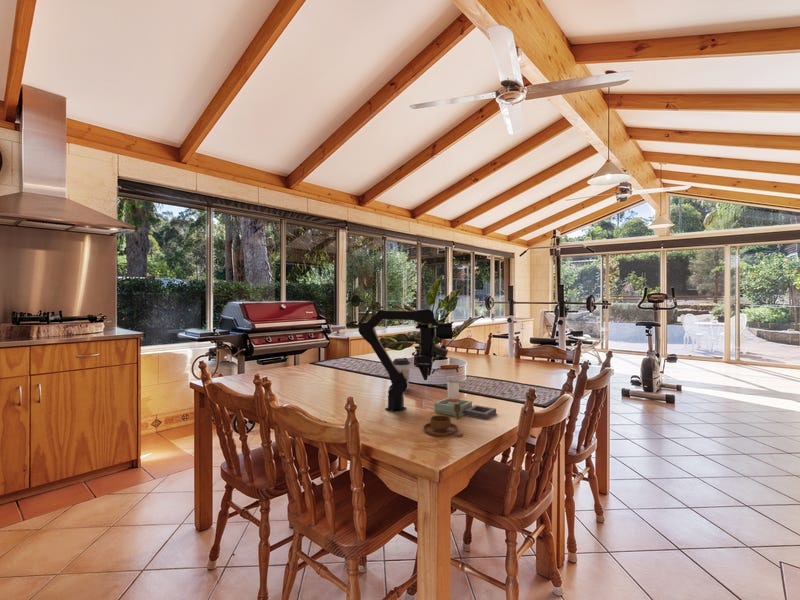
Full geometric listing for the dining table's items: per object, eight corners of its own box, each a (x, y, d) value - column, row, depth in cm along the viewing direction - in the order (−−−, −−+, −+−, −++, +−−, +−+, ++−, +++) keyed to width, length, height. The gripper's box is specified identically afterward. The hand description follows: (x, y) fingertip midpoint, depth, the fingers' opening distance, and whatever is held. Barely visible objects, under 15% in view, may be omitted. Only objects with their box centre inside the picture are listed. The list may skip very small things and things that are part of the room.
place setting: (412, 427, 144) (412, 411, 144) (457, 418, 154) (457, 403, 154) (440, 443, 129) (440, 424, 128) (488, 432, 138) (488, 415, 138)
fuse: (455, 411, 158) (455, 378, 158) (444, 409, 161) (444, 377, 161) (461, 408, 162) (461, 376, 162) (451, 406, 165) (450, 375, 165)
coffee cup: (399, 391, 194) (399, 360, 194) (388, 388, 201) (388, 358, 201) (413, 388, 200) (413, 358, 199) (402, 385, 207) (402, 356, 206)
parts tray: (458, 416, 154) (458, 407, 154) (434, 411, 161) (434, 403, 161) (471, 410, 163) (471, 401, 163) (448, 405, 169) (448, 397, 169)
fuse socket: (486, 419, 150) (486, 414, 150) (464, 415, 156) (464, 410, 156) (496, 413, 157) (496, 408, 157) (475, 409, 163) (475, 404, 163)
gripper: (444, 342, 153) (444, 383, 153) (449, 337, 171) (449, 373, 171) (415, 342, 155) (415, 382, 155) (423, 336, 173) (423, 373, 173)
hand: (427, 377), depth 164 cm, fingers open, 9 cm apart
